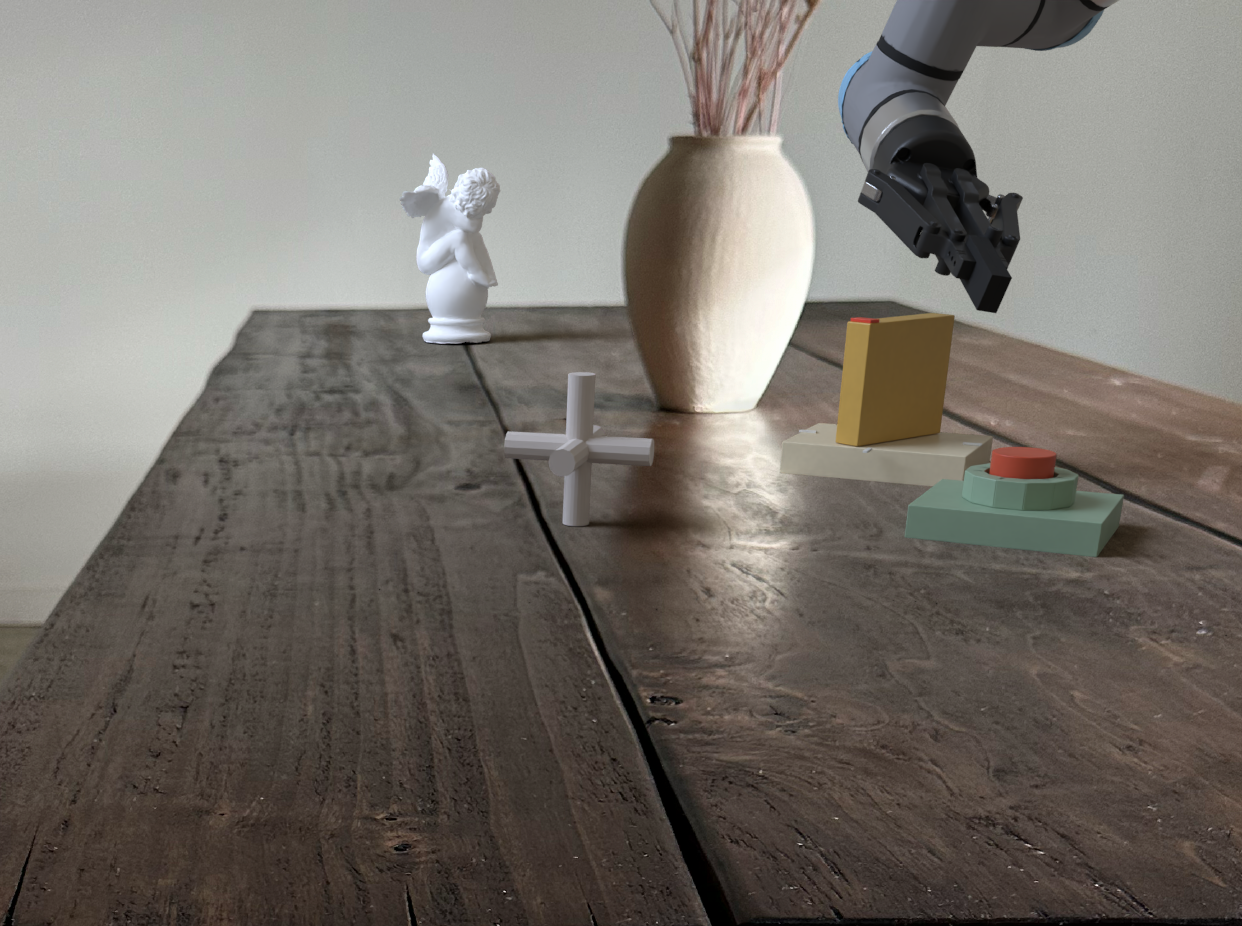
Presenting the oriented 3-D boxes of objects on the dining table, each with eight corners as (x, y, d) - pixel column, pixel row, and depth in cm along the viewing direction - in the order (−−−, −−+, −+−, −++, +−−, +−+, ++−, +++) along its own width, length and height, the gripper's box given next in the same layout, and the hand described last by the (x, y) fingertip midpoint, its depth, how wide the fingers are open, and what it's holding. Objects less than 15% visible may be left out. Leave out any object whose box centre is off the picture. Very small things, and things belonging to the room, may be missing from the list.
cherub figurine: (508, 343, 212) (513, 153, 203) (424, 349, 206) (425, 155, 197) (456, 334, 222) (458, 152, 213) (375, 340, 216) (373, 154, 207)
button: (1057, 476, 112) (1061, 449, 112) (1047, 486, 109) (1051, 459, 108) (995, 471, 114) (998, 444, 113) (983, 481, 111) (986, 454, 110)
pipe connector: (633, 544, 111) (641, 387, 107) (486, 533, 114) (489, 380, 110) (660, 513, 119) (669, 367, 115) (523, 504, 122) (527, 362, 118)
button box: (1118, 527, 114) (1128, 467, 113) (1096, 557, 106) (1107, 494, 105) (938, 509, 120) (945, 452, 118) (904, 537, 112) (911, 477, 110)
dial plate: (995, 463, 136) (1000, 430, 135) (957, 495, 124) (962, 458, 123) (820, 449, 142) (824, 417, 141) (769, 478, 131) (772, 443, 130)
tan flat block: (917, 429, 136) (932, 309, 132) (940, 433, 134) (955, 311, 130) (834, 442, 130) (847, 317, 127) (857, 446, 129) (870, 320, 125)
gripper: (975, 217, 140) (1057, 355, 124) (825, 193, 139) (887, 329, 122) (1013, 126, 135) (1104, 258, 118) (857, 100, 134) (927, 229, 117)
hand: (994, 294), depth 120 cm, fingers closed
